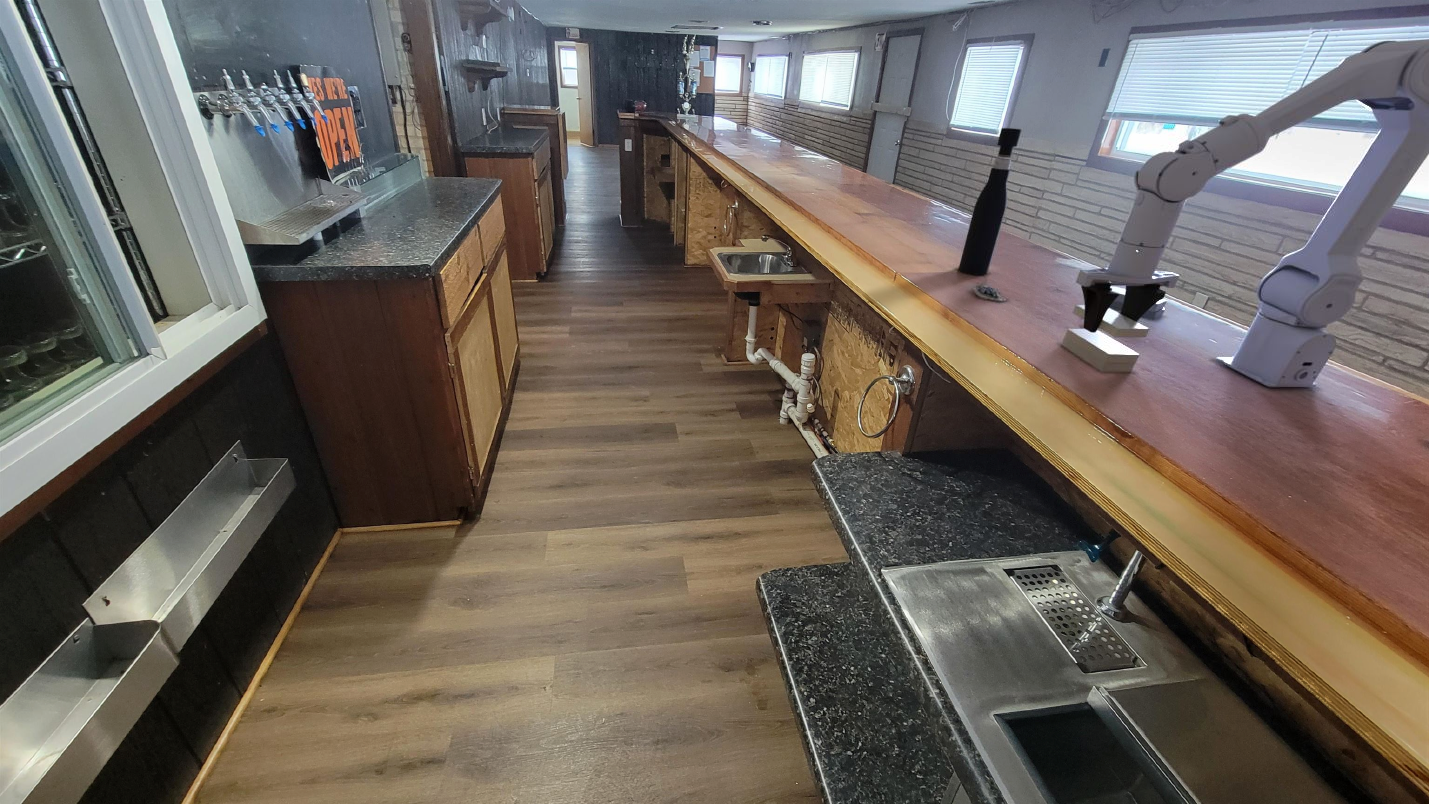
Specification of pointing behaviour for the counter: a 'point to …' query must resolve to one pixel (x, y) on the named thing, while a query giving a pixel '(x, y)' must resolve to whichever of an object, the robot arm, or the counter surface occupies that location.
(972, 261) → the wine bottle
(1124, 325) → the white book
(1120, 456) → the counter surface
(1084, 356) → the cream rectangular block
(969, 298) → the counter surface
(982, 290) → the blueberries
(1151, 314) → the grey books
